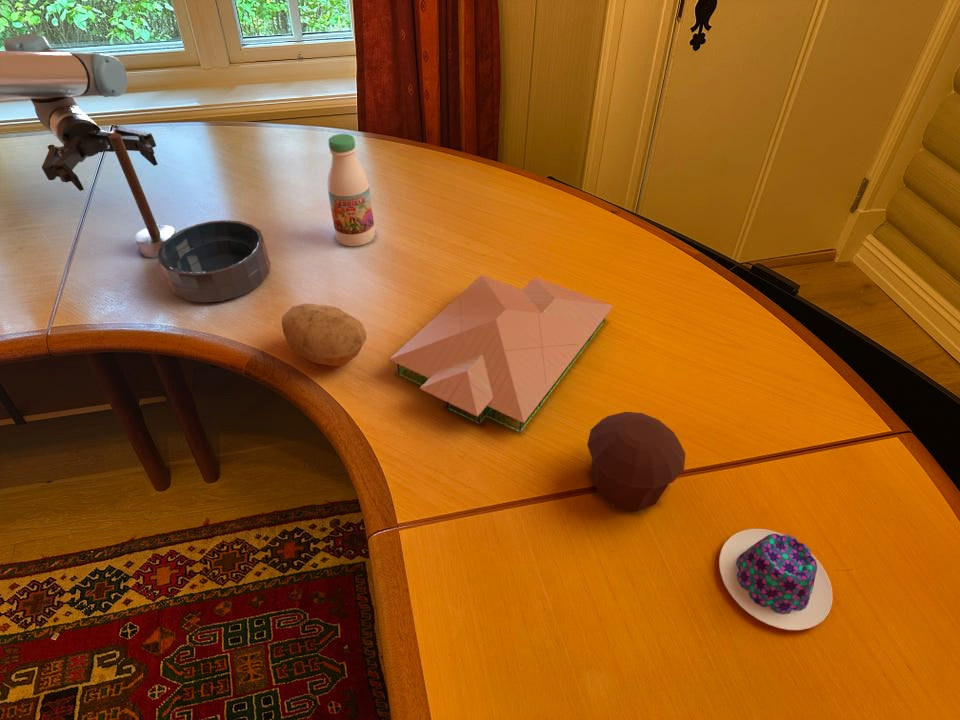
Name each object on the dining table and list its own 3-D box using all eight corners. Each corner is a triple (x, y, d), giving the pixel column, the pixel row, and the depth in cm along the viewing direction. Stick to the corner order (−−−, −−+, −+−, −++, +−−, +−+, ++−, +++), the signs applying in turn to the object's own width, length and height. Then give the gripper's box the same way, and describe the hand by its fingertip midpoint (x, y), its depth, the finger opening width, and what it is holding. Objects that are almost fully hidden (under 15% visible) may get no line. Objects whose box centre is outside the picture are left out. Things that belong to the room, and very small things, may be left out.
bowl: (151, 300, 105) (137, 269, 100) (200, 246, 117) (189, 216, 113) (246, 310, 103) (236, 279, 98) (285, 254, 115) (278, 224, 111)
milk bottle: (331, 231, 122) (314, 133, 108) (368, 223, 124) (356, 126, 110) (342, 251, 117) (324, 150, 103) (380, 242, 119) (368, 143, 105)
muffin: (684, 470, 79) (704, 420, 72) (657, 535, 72) (676, 486, 65) (600, 434, 84) (611, 383, 77) (566, 492, 77) (575, 442, 70)
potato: (312, 323, 101) (302, 284, 95) (382, 349, 96) (377, 310, 90) (271, 358, 94) (259, 318, 89) (345, 388, 90) (337, 348, 84)
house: (379, 386, 90) (373, 345, 84) (494, 277, 110) (495, 239, 105) (512, 452, 81) (515, 411, 76) (610, 321, 102) (618, 281, 96)
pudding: (697, 578, 68) (709, 554, 65) (748, 514, 74) (762, 489, 71) (800, 657, 62) (820, 636, 58) (847, 580, 68) (868, 557, 65)
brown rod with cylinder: (133, 255, 115) (82, 142, 100) (153, 236, 120) (107, 126, 105) (167, 259, 114) (121, 146, 99) (186, 239, 119) (145, 129, 104)
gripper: (146, 131, 132) (188, 166, 121) (21, 170, 120) (55, 213, 109) (131, 96, 126) (174, 130, 115) (-1, 134, 114) (33, 175, 104)
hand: (117, 170), depth 112 cm, fingers open, 13 cm apart
